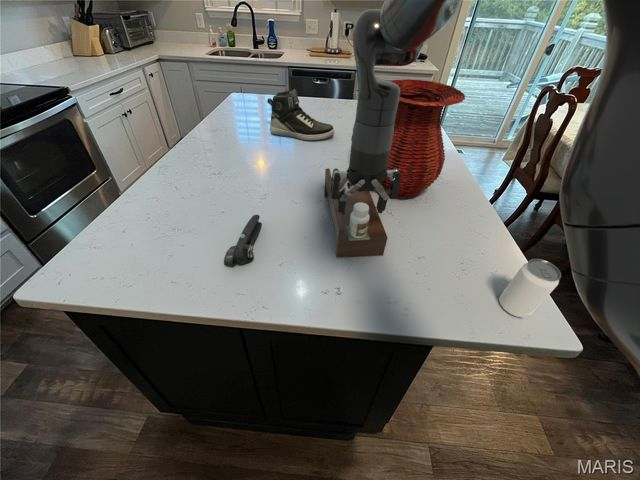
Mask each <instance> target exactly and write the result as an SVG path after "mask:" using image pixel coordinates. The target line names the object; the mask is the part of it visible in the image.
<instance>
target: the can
mask: <svg viewBox="0 0 640 480" xmlns="http://www.w3.org/2000/svg"><path fill="white" fill-rule="evenodd" d="M561 278H562V273H561V270H560V269H559V268H558V267H557V266H556V265H554V264H553V263H552V262H550V261H548V260H545V259H541V258H532V259H530V260H528V261H527V262H526V263H524V264H523V265H522V266H521V267H520V268H519V269H518V271H517V272H516V273H515V275H514V276H513V278H512V279H511V280H510V281H509V283H508V285H507V286H506V287H505V289H504V290H503V292H502V293H501V294H500V295H499V299H498V300H499V301H498V302H499V304H500V307H501V308H502V309H503V310H504V311H505V312H506V313H508V314H509V315H511V316H513V317H516V318H527V317H530V316H531V315H532V314H533V313H534V311H535V310H537V308H539V306H540V305H541V304H542V303H543V302H544V301H545V300H546V299H547V298H548V297H549V295H551V293H552V292H553V291H554V290H555V289H556V288H557V287H558V286H559V284H560V280H561Z"/></svg>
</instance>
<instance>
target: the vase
mask: <svg viewBox="0 0 640 480" xmlns="http://www.w3.org/2000/svg"><path fill="white" fill-rule="evenodd" d="M389 81H390V82H393V83H395V84H397V85H398V86H399V88H400V99H399V104H398V108H397V113H396V118H395V124H394V136H393V141H392V146H391V151H390V156H389V160H388V165H387V169H386V170H392V169H393V168H394V167H396V168H398V170H399V172H400V174H401V179H400V184H399V190H398V195H397V197H395V198H394V199H412V198H413V197H417V196H418V195H420V194H421V193H422V192H424V191H425V190H427V189H428V188H429V187H430V186H431V185H432V184H434V183H435V181H437V180H438V178H439V177H440V175H441V173H442V170H443V168H444V165H445V160H446V153H445V151H446V150H445V146H444V143H445V142H444V138H443V137H442V136H443V133H442V132H443V131H442V115H443V110H444V107H446V106H453V105H458V104H460V103H463V102H464V100H466V95H465V93H463V92H462V91H461V90H460V89H457V88H456V87H454V86H451V85H448V84H444V83H441V82H436V81H431V80H423V79H410V78H408V79H403V78H402V79H393V80H389ZM381 184H382V186H383V187H384V189H385V190H388V189H389V186H390V179H389V177H388V176H387V178H386V179H385V180H384V181H383V182H382V183H381Z"/></svg>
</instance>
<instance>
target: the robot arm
mask: <svg viewBox="0 0 640 480" xmlns="http://www.w3.org/2000/svg"><path fill="white" fill-rule="evenodd" d="M602 1H603V2H602V4H603V12H604V18H605V49H604V58H603V63H602V67H601V71H600V74H599V77H598V80H597V83H596V86H595V88H594V91H593V94H592V97H591V99H590V101H589V104H588V107H587V108H586V110H585V112H584V113H585V114H584V115H583V118H582V120H581V122H580V125H579V127H578V130H577V132H576V135H575V137H574V139H573V143H572V145H571V147H570V149H569V150H570V151H569V153H568V156H567V159H566V162H565V165H564V168H563V172H562V176H561V179H560V186H559V194H558V195H559V210H560V217H561V222H562V228H563V234H564V239H565V243H566V248H567V249H566V250H567V254H568V259H569V265H570V269H571V274H572V278H573V281H574V284H575V288H576V290H577V293H578V296H579V297H580V300H581V301H582V304H583V305H584V307H585V308H586V310H587V311H588V313H589V314H590V316H591V317H592V319H593V321H595V323H596V324H597V326H598V327H599V328H600V329H601V330H602V332H603V333H604V334H605V335H606V336H607V338H608V339H609V340H610V341H611V342H612V343H613V345H614V346H615V347H616V348H617V349H618V350H619V352H620V353H621V354H622V355H623V356H624V357H625V359H627V360H628V362H629V363H630V364H631V366H632V367H633V369H634V370H635V372H636V373H637V376H638V377H639V378H640V0H602ZM462 2H463V0H384V2H383V3H382V6H381V8H380V9H379V8H378V9H376V8H370V9H366V10H364V11H362V12H361V13H360V15H359V16H358V17H357V19H356V21H355V23H354V26H353V30H352V48H353V49H352V50H353V55H354V61H355V67H356V68H355V69H356V77H357V102H356V110H355V118H354V124H353V128H352V134H351V139H350V140H351V143H350V152H349V153H350V154H349V162H348V163H349V164H348V168H347V169H346V170H339V169H338V168H333V170H332V174H331V177H332V181H331V189H330V192H331V197H332V199H338V211H339V212H341V215H344V214H345V206H346V199H347V198H348V197H349V196H351V195H353V194H354V193H355V192H356V191H358V192H362V191H369V192H373V191H375V190H376V191H377V192H378V194H379V195H378V198H377V204H376V209H377V212H378V214H382V213H383V212H384V211H385V210H386V209H387V208H386V207H387V203H388V200H389V199H390V198H393V199H396V198H395V197H397V195H398V190H399V184H400V179H401V174H400V172H399V170H398V168H396V167H394V168H393V169H392V170H386V169H387V165H388V160H389V156H390V151H391V146H392V141H393V136H394V124H395V118H396V113H397V108H398V104H399V99H400V94H401V93H400V88H399V86H398V85H397V84H395V83H393V82H390V81H391V80H386V79H382V78H379V77H377V76H376V73H375V67H404V66H405V67H406V66H409V65H411V64H413V63H415V62H416V61H417V60H418V58H419V57H420V54H421V51H422V49H423V48H424V46H425V44H426V42H427V41H428V40H430V39H431V38H433V37H434V36H435V35H437V34H438V33H439V32H440V31H441V30H442V29H444V28H445V27H446V26H448V24H449V23H450V22H451V20H452V19H453V18H454V16H455V15H456V13H457V12H458V10H459V8H460V6H461V5H462ZM387 176H388V177H389V179H390V186H389V189H388V190H385V189H384V187H383V186H382V184H381V183H382V182H383V181H384V180H385V179H386V178H387ZM344 178H347V179H348V181H347V182H346V183H345V185H344V187H343V188H342V189H341V190H340V191H338V189H339V183H341V182H342V181H343V179H344ZM351 186H352V187H351ZM633 480H640V473H638V475H636V477H634V478H633Z"/></svg>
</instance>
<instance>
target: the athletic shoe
mask: <svg viewBox="0 0 640 480" xmlns="http://www.w3.org/2000/svg"><path fill="white" fill-rule="evenodd" d="M266 102H267V104H269V105H270V106H271V107H270V108H271V114H270V126H269V130H270V133H271V135H273V136H279V137H285V138H292V139H296V140H300V141H305V142H318V141H319V142H320V141H324V140H327V139H331V138H332V137H333V136H334V135H335V127H334V126H333V125H332V124H330V123H326V122H321V121H318V120H316V119H315V118H313V117H311V116H310V114H308V113H306V111H304V110H303V108H302V107H301V106H300V100H299V96H298V92H297V90H296V89H295V88H294V89H292V90H285V91H280V92H277V93H276V94H275V95H273V97H272V98H271V97H269V98H267V100H266Z"/></svg>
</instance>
